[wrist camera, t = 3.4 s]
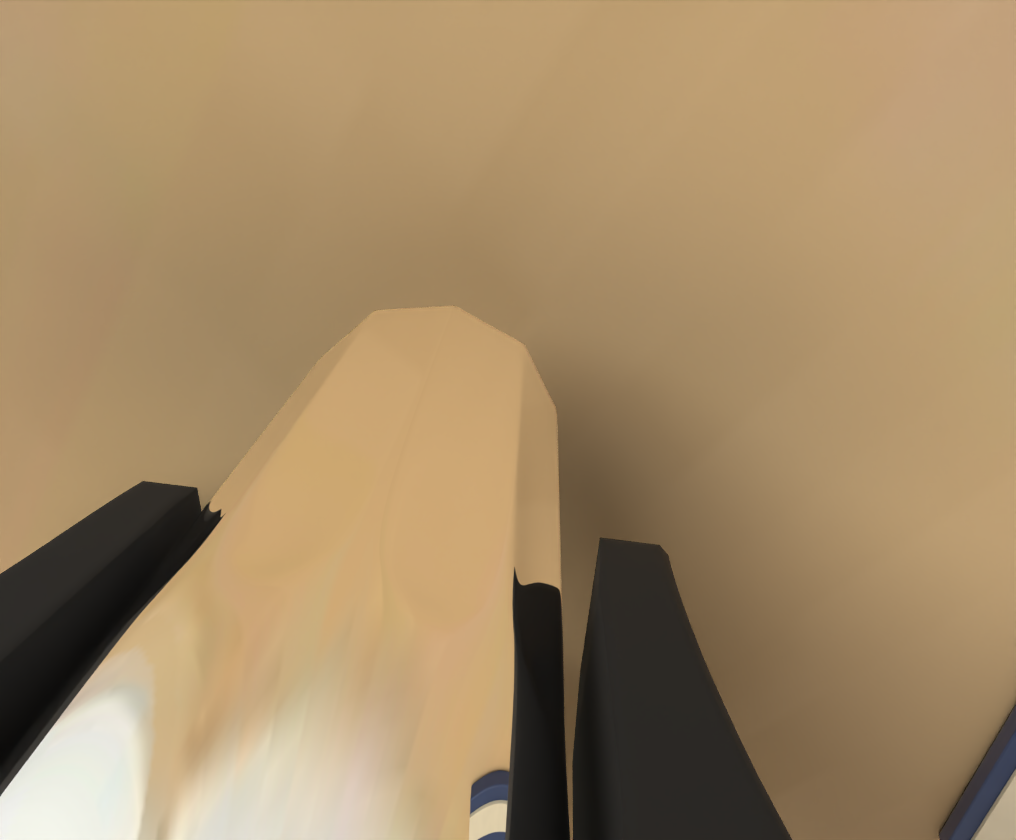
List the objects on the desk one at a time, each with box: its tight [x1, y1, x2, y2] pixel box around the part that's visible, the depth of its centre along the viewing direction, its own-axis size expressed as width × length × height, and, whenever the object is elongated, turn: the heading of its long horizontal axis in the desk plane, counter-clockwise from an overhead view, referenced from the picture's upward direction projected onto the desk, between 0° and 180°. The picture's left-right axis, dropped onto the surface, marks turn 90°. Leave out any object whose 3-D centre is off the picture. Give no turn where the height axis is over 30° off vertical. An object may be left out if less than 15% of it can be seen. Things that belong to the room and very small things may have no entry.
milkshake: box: [0, 305, 570, 840], centre depth 8 cm, size 4×5×10 cm
